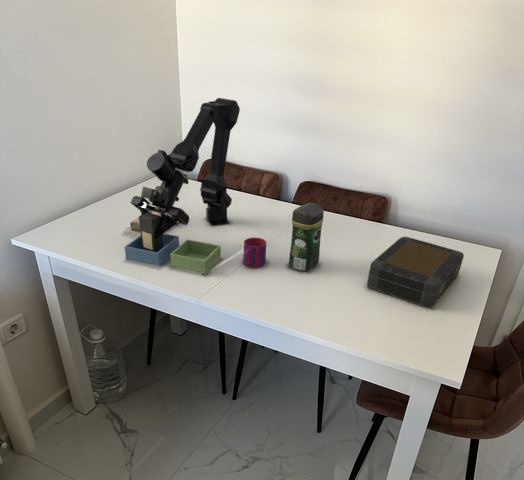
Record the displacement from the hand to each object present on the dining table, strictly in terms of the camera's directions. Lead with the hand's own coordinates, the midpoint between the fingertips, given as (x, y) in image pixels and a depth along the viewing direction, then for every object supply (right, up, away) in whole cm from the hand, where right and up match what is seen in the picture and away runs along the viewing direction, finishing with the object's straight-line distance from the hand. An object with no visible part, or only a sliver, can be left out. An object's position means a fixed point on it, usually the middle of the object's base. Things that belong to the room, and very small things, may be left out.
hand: (148, 235), depth 148 cm
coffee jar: (+47, -8, +4) cm, 47 cm away
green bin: (+14, -8, +2) cm, 16 cm away
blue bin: (0, -5, +5) cm, 7 cm away
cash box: (+78, -14, -2) cm, 79 cm away
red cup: (+31, -8, +3) cm, 32 cm away
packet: (0, -4, +5) cm, 6 cm away
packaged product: (-3, +7, +21) cm, 23 cm away
